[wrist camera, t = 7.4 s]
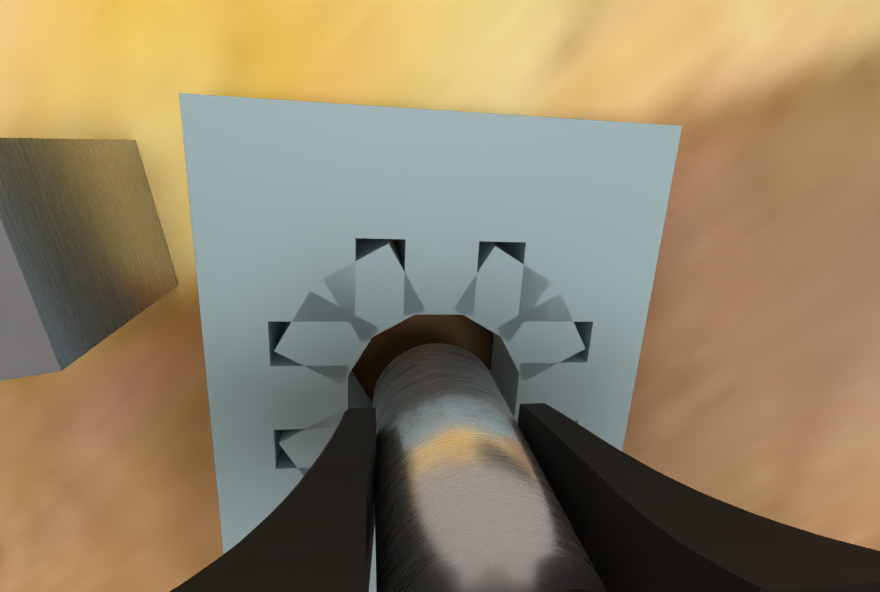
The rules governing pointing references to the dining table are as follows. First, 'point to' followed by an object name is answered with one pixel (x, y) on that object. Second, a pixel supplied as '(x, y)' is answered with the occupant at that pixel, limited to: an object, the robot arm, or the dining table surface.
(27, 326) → the square bar
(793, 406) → the dining table surface
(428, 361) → the round bit
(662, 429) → the dining table surface
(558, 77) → the dining table surface
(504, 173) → the socket block
